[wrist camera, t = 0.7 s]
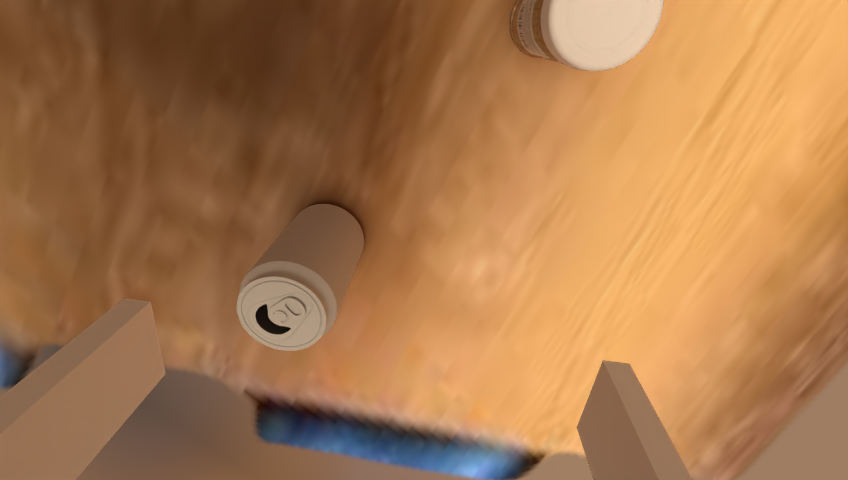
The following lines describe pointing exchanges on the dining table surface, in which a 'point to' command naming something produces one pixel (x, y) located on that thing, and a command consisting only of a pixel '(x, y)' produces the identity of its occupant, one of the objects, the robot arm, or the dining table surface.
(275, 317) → the beverage can
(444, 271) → the dining table surface
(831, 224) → the dining table surface
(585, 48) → the sprinkles bottle
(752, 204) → the dining table surface
